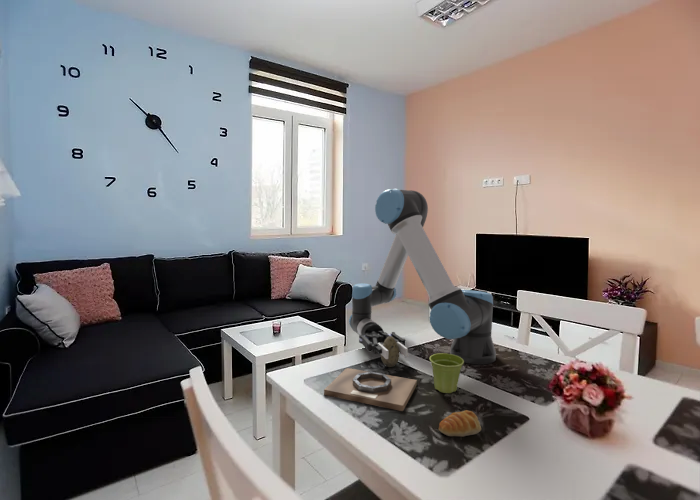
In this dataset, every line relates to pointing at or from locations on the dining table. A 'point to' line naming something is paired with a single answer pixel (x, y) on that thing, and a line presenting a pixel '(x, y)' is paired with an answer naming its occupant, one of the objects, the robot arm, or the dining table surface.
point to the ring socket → (371, 388)
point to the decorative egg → (391, 352)
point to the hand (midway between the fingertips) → (397, 353)
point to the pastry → (460, 424)
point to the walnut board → (390, 399)
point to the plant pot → (446, 371)
